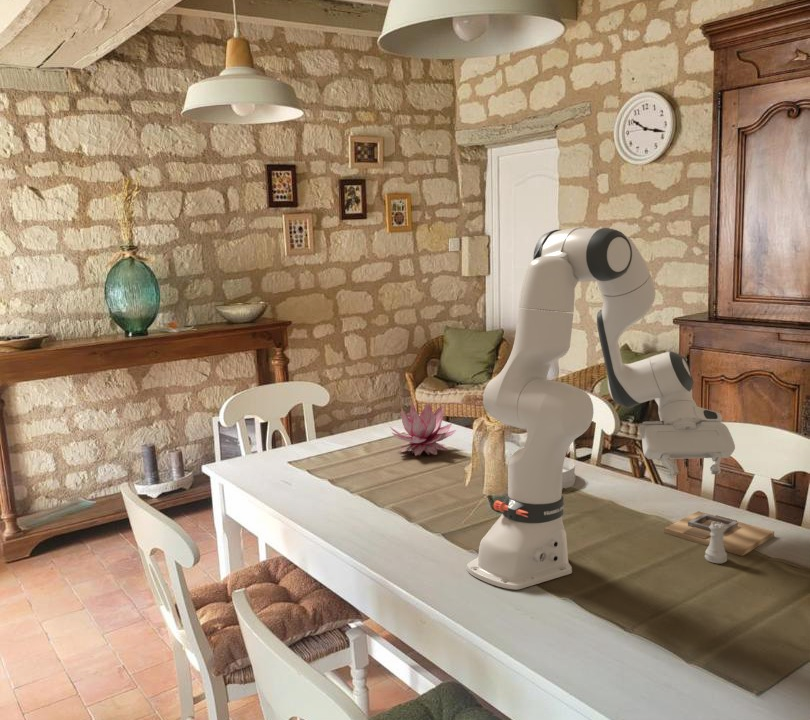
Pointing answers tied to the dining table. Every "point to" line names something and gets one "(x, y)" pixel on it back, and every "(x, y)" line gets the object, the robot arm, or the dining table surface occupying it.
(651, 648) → the dining table surface
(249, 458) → the dining table surface
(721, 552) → the rook chess piece
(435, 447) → the decorative flower
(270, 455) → the dining table surface
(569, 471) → the dish
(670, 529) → the oak board
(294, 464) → the dining table surface
